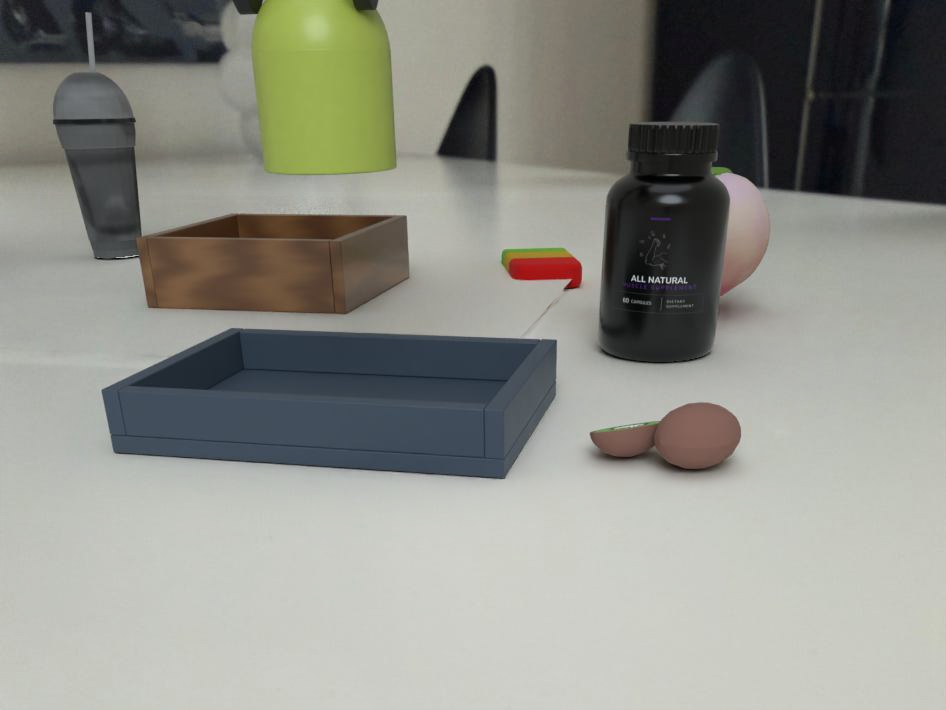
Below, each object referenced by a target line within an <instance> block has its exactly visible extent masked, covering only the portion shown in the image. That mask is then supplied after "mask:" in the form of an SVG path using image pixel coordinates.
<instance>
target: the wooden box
mask: <svg viewBox="0 0 946 710" xmlns="http://www.w3.org/2000/svg"><path fill="white" fill-rule="evenodd" d="M408 234H409V233H408V216H407V215H405V214H327V213H325V214H320V213H319V214H318V213H316V214H314V213H228V214H225V215H224V214H223V215H220V216H217V217H213V218H209V219H205V220H201V221H197V222H193V223H189V224H184V225H181V226H178V227H174V228H173V227H172V228H171V229H165V230H162V231H158V232H154V233H151V234H146V235H142V237H138V238H136V241H137V247H138V252H139V257H138V258H139V264H140V271H141V275H142V282H143V287H144V293H145V299H146V305H147V308H148V309H165V310H166V309H169V310H195V311H196V310H197V311H198V310H200V311H201V310H202V311H203V310H204V311H205V310H206V311H227V312H229V311H231V312H256V313H257V312H259V313H262V312H263V313H289V314H290V313H291V314H292V313H293V314H319V315H320V314H323V315H324V314H325V315H348V314H349V313H351V312H353V311H355V310H356V309H358V308H360V307H362V306H363V305H365V304H367V303H369V302H371V301H372V300H374V299H376V298H377V297H379V296H381V295H382V294H385V293H386V292H387V291H389V290H391V289H393V288H395V287H397V286H398V285H400V284H402V283H403V282H405V281H407V280H408V279H411V277H410V253H409V235H408Z"/></svg>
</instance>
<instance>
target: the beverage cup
mask: <svg viewBox="0 0 946 710" xmlns="http://www.w3.org/2000/svg"><path fill="white" fill-rule="evenodd" d="M84 14H85V25H86V39H87V52H88V63H89V64H88V65H89V66H88V67H89V72H88V71H85V72H84V71H82V72H81V71H80V72H72V73H71V74H67V76H66V77H64V79H63V80H62V81H61V82H60V83H59V84H58V86H57V88H56V90H55V93H54V96H53V101H52V115H53V116H52V117H53V119H52V125H54V126H55V131H56V135H57V137H58V140H59V143H60V146H61V148H62V149H63V151H64V155H65V157H66V162H67V166H68V169H69V173H70V176H71V180H72V183H73V187H74V191H75V194H76V198H77V202H78V205H79V209H80V213H81V216H82V220H83V224H84V227H85V231H86V234H87V235H86V236H87V239H88V241H89V243H90V246H91V249H92V251H93V256H95V257H99V258H116V257H125V256H133V255H139V252H138V247H137V241H136V238H138V237H142V236H143V231H142V221H141V209H140V197H139V185H138V174H137V162H136V161H137V160H136V151H135V150H136V149H135V147H136V139H137V138H136V137H137V136H136V125H135V123H137V120H136V118H135V116H134V112H133V109H132V106H131V103H130V101H129V99H128V97H127V95H126V94H125V92H124V90H123V89H122V88H121V87H120V86H119V84H117V83H116V82H115V81H114V80H113V79H111V78H110V77H109V76H107V75H106V74H103V73H101V72H98V71H97V68H96V67H97V66H96V58H95V57H96V55H95V45H94V44H95V43H94V30H93V15H92V12H88V11H86V12H85V13H84ZM95 257H94V258H95Z"/></svg>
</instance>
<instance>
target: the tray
mask: <svg viewBox="0 0 946 710" xmlns="http://www.w3.org/2000/svg"><path fill="white" fill-rule="evenodd" d="M557 355H558V340H557V339H552V338H551V339H549V338H548V339H547V338H541V339H539V338H517V337H515V338H514V337H491V336H490V337H489V336H464V335H463V336H460V335H458V336H457V335H434V334H410V333H409V334H408V333H407V334H406V333H379V332H356V331H355V332H353V331H351V332H350V331H327V330H326V331H323V330H322V331H321V330H298V329H297V330H294V329H271V328H270V329H269V328H268V329H267V328H243V327H231V328H228V329H226V330H224V331H222V332H220V333H218V334H216V335H213V336H211V337H209V338H207V339H205V340H203V341H201V342H199V343H197V344H195V345H193V346H190V347H188V348H186V349H184V350H182V351H180V352H178V353H175V354H173V355H171V356H169V357H167V358H164V359H163V360H161V361H159V362H157V363H155V364H153V365H150V366H148V367H147V368H143V369H141V370H139V371H138V372H136V373H134V374H131V375H129V376H127V377H125V378H123V379H121V380H119V381H117V382H114V383H112V384H110V385H108V386H106V387H104V388H102V389H101V395H102V401H103V406H104V411H105V415H106V420H107V421H106V422H107V426H108V430H109V434H110V441H111V446H112V451H113V453H117V454H118V453H120V454H133V455H148V456H149V455H150V456H163V457H164V456H165V457H179V458H195V459H211V460H223V461H239V462H255V463H269V464H284V465H285V464H286V465H299V466H314V467H315V466H317V467H330V468H344V469H345V468H347V469H360V470H361V469H362V470H374V471H375V470H376V471H391V472H404V473H405V472H406V473H421V474H434V475H438V474H439V475H452V476H464V477H465V476H466V477H480V478H494V479H495V478H496V479H504V478H505V477H506V475H507V474H508V472H509V471H510V469H511V468H512V466H513V464H514V463H515V461H516V460H517V458H518V456H519V455H520V453H521V451H522V450H523V448H524V447H525V445H526V443H527V441H528V440H529V438H531V436H532V434H533V432H534V430H535V429H536V428H537V426H538V424H539V422H540V421H541V419H542V418H543V416H544V414H546V411H547V409H548V408H549V406H550V405H551V404H552V402H553V400H554V398H555V397H556V395H557V362H558V361H557V359H558V358H557Z"/></svg>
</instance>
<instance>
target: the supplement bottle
mask: <svg viewBox="0 0 946 710" xmlns="http://www.w3.org/2000/svg"><path fill="white" fill-rule="evenodd" d="M719 135H720V123H715V122H701V121H700V122H699V121H638V122H637V121H636V122H631V123H629V126H628V137H627V150H626V151H625V160H627V161H629V171H628V172H627V173H626V174H624V175H623V176H621V177H620V178H619V179H617V180H616V181H615V182H614V183H613V184H612V186H611V187H610V188H609V190H608V192H607V194H606V199H605V209H604V226H603V241H602V242H603V243H602V245H603V246H602V260H601V275H600V292H599V295H600V296H599V309H598V310H599V311H598V328H597V329H598V333H597V338H598V339H597V341H598V344H599V346H600V348H601V349H602V350H603V351H604V352H606V353H607V354H609V355H611V356H614V357H618V358H621V359H626V360H632V361H640V362H649V363H651V362H652V363H674V361H676V362H685V361H684V360H686V361H691V360H690V359H692V360H696V359H695V358H697V359H700V358H702V357H701V356H703V357H704V355H705V356H707V355H708V354H709V353H710V352H711V350H712V349H713V347H714V344H715V338H716V331H717V323H718V314H719V306H720V297H721V296H720V289H721V281H722V272H723V263H724V255H725V246H726V237H727V228H728V220H729V211H730V196H729V192H728V190H727V188H726V186H725V185H724V184H723V183H722V182H721V181H720V180H719V179H718V178H716V177H715V176H714V175H713V174H712V173H711V170H712V167H713V162H717V161H718V157H719V152H718V144H719V137H720V136H719ZM699 357H700V358H699ZM682 360H683V361H682Z"/></svg>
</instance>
